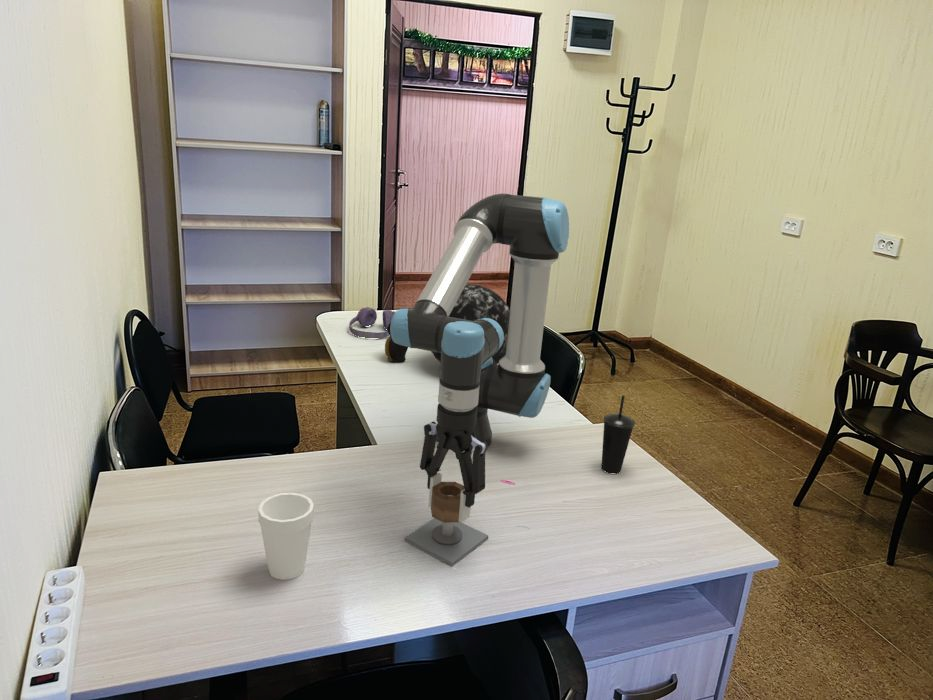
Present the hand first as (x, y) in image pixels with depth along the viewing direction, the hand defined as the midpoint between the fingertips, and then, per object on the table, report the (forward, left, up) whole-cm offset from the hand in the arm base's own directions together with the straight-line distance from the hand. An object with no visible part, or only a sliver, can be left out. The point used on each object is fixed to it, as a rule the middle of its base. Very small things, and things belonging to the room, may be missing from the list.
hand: (448, 511), depth 131 cm
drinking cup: (+12, +52, -7) cm, 54 cm away
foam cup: (-16, -27, -7) cm, 32 cm away
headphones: (-106, +89, -7) cm, 138 cm away
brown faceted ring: (0, 0, 0) cm, 0 cm away
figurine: (-78, +71, -7) cm, 106 cm away
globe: (-55, +81, -7) cm, 98 cm away
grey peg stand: (0, 0, -7) cm, 7 cm away
